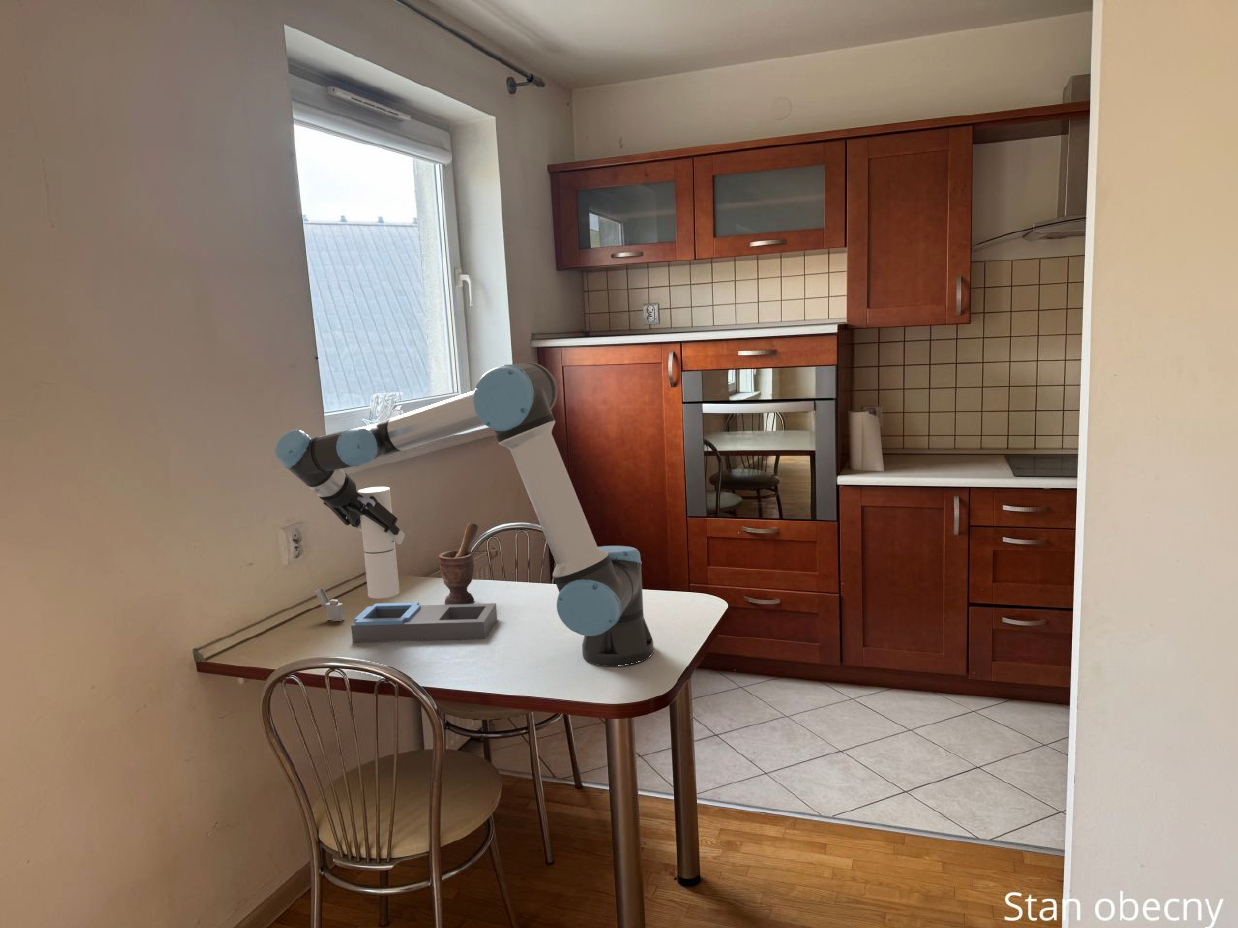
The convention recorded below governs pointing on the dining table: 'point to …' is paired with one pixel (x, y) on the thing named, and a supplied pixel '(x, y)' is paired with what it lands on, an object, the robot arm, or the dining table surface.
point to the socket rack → (423, 622)
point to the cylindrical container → (379, 550)
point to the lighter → (331, 606)
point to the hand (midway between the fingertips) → (388, 538)
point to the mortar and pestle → (459, 569)
